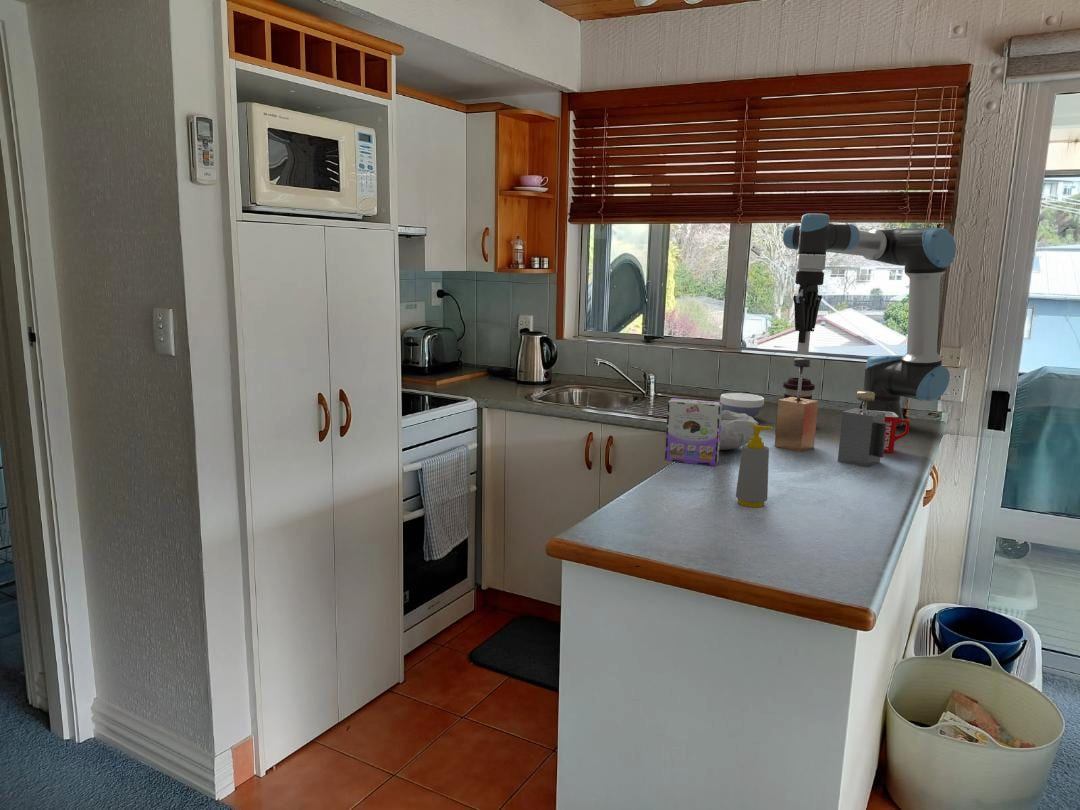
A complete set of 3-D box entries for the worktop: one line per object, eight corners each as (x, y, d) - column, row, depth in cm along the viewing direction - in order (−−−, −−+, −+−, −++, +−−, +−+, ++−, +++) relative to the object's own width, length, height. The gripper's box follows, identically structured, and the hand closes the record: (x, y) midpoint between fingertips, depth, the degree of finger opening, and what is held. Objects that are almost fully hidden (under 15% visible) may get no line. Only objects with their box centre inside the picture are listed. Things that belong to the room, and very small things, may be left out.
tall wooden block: (781, 440, 242) (785, 395, 239) (813, 447, 235) (818, 400, 232) (768, 444, 236) (772, 398, 233) (800, 451, 229) (805, 404, 226)
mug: (865, 451, 231) (869, 415, 229) (860, 445, 239) (863, 410, 237) (909, 454, 229) (913, 418, 227) (902, 448, 237) (907, 412, 235)
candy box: (719, 461, 215) (723, 401, 212) (716, 466, 210) (720, 405, 207) (667, 456, 220) (671, 396, 216) (663, 461, 214) (667, 400, 211)
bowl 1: (768, 418, 276) (769, 396, 274) (754, 425, 263) (756, 402, 262) (727, 412, 283) (728, 391, 282) (712, 419, 271) (714, 397, 270)
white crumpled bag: (685, 437, 242) (687, 405, 240) (755, 442, 238) (757, 409, 236) (683, 454, 222) (685, 418, 220) (759, 460, 218) (762, 424, 216)
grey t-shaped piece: (792, 415, 237) (797, 357, 234) (811, 418, 233) (816, 359, 230) (782, 417, 233) (787, 358, 230) (801, 420, 229) (807, 361, 225)
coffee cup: (812, 427, 262) (817, 382, 259) (781, 425, 264) (785, 380, 261) (809, 421, 272) (813, 377, 269) (778, 419, 274) (782, 375, 271)
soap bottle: (762, 510, 175) (768, 429, 171) (730, 504, 178) (737, 425, 175) (771, 502, 180) (777, 424, 177) (740, 496, 184) (746, 420, 181)
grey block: (850, 456, 225) (855, 408, 222) (887, 463, 218) (892, 413, 215) (837, 461, 219) (842, 411, 217) (874, 468, 212) (880, 417, 210)
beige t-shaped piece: (853, 450, 223) (859, 389, 220) (874, 454, 219) (881, 392, 216) (844, 454, 219) (850, 391, 216) (865, 458, 215) (872, 395, 212)
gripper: (808, 270, 232) (801, 351, 237) (786, 269, 223) (779, 354, 227) (833, 271, 227) (825, 354, 231) (812, 270, 218) (804, 357, 222)
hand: (802, 354), depth 229 cm, fingers closed
